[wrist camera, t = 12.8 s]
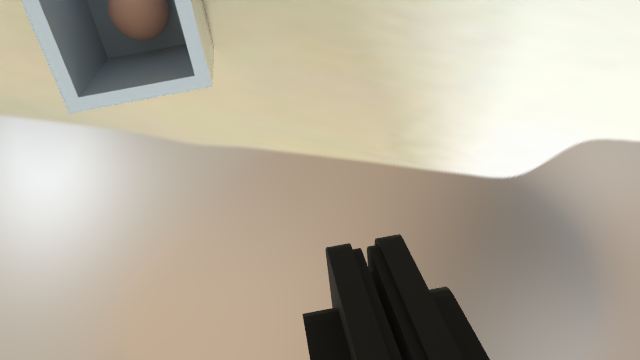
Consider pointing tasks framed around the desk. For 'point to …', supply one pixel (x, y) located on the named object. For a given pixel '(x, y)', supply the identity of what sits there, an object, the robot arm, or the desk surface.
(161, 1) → the ball
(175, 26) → the light blue pen cup
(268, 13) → the desk surface
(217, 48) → the desk surface
